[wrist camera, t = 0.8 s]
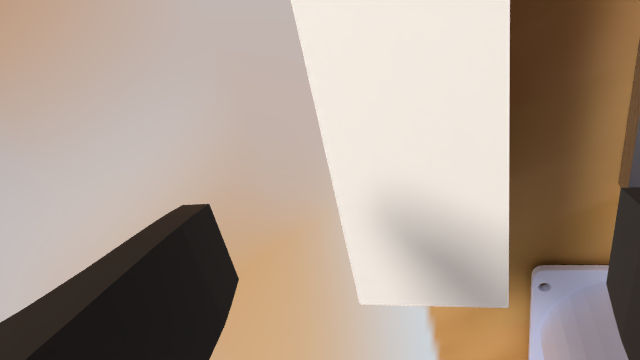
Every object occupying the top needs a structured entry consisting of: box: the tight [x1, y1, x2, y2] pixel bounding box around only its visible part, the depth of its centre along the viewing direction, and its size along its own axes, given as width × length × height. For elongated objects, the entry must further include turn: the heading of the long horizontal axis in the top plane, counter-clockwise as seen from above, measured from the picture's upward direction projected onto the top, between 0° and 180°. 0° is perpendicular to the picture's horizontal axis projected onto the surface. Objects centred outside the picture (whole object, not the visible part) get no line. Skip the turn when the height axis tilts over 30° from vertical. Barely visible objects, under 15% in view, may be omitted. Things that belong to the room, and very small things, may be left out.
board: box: [291, 0, 510, 308], centre depth 14 cm, size 14×5×2 cm, turn 12°
